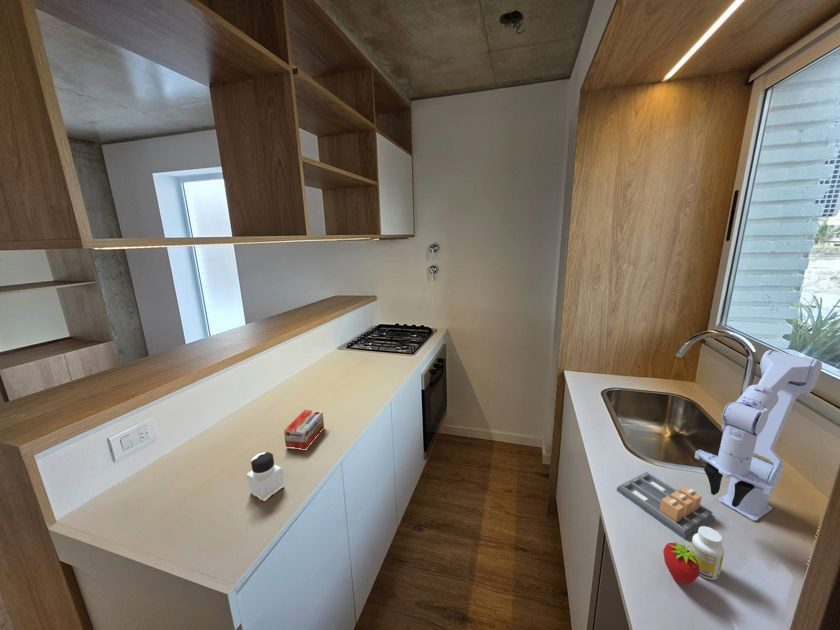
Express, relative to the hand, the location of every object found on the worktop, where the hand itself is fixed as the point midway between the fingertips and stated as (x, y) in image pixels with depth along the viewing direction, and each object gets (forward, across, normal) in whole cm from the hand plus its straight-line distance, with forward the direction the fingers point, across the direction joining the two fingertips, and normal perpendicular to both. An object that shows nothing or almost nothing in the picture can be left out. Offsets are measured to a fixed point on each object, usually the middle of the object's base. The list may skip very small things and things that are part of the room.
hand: (724, 498), depth 83 cm
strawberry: (+10, +3, -23) cm, 25 cm away
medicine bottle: (+10, -67, -105) cm, 125 cm away
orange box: (+8, -7, -8) cm, 13 cm away
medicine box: (+10, -90, -91) cm, 128 cm away
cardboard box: (+8, -7, 0) cm, 10 cm away
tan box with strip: (+8, -7, -4) cm, 11 cm away
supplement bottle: (+10, +4, -15) cm, 18 cm away
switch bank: (+9, -11, -4) cm, 15 cm away
